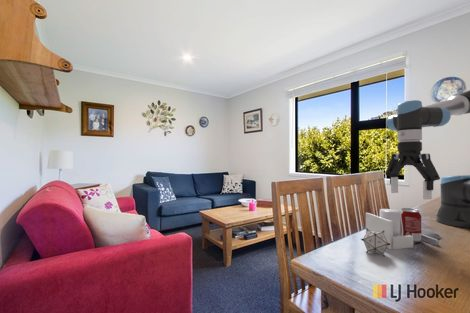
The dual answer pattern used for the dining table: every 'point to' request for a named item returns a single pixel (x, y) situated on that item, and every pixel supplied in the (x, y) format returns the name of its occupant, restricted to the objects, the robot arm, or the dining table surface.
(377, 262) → the dining table surface
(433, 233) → the coaster
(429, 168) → the robot arm
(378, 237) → the game die
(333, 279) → the dining table surface
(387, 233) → the dispenser rack
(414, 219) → the soda can
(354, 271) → the dining table surface
